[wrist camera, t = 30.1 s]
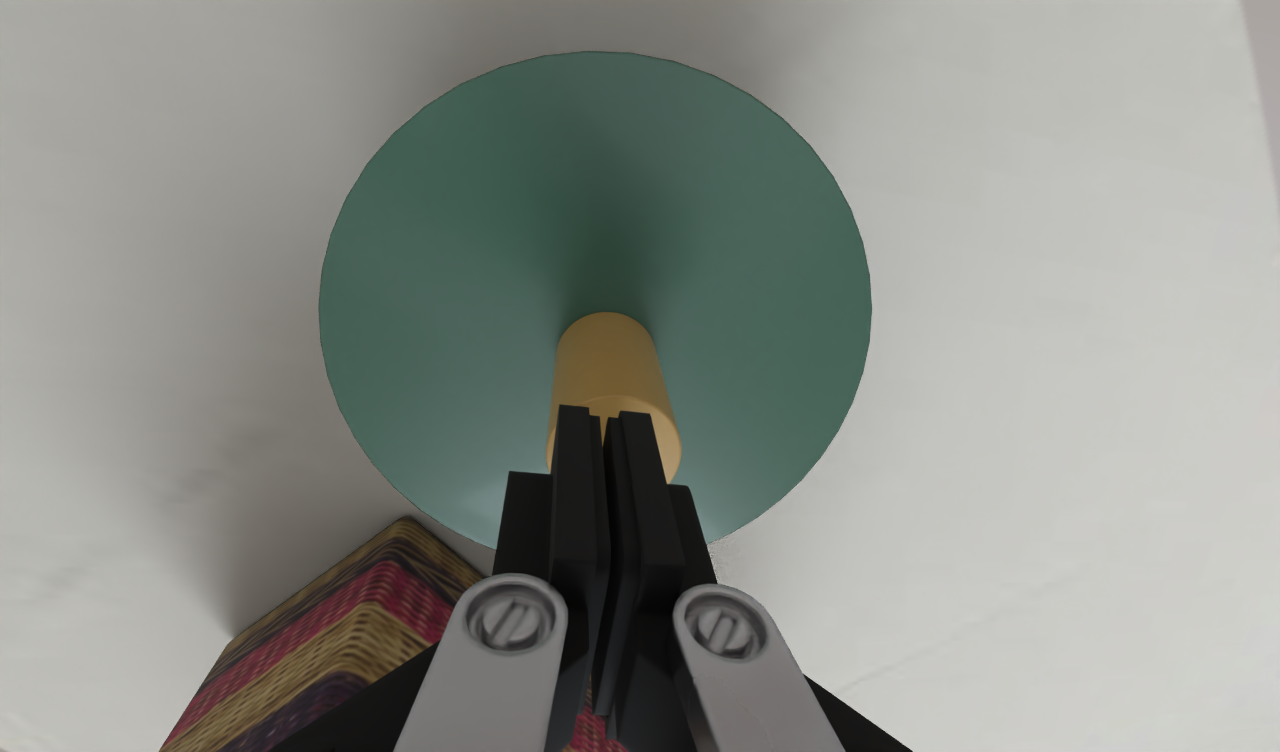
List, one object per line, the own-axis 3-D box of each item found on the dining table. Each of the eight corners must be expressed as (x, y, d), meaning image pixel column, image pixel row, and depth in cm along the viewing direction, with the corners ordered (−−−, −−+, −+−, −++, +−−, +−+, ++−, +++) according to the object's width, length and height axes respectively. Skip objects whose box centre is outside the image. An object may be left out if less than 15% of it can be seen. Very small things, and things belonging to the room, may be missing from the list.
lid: (658, 605, 23) (682, 771, 17) (246, 409, 18) (96, 552, 12) (960, 278, 18) (1126, 360, 12) (513, -103, 13) (464, -239, 8)
